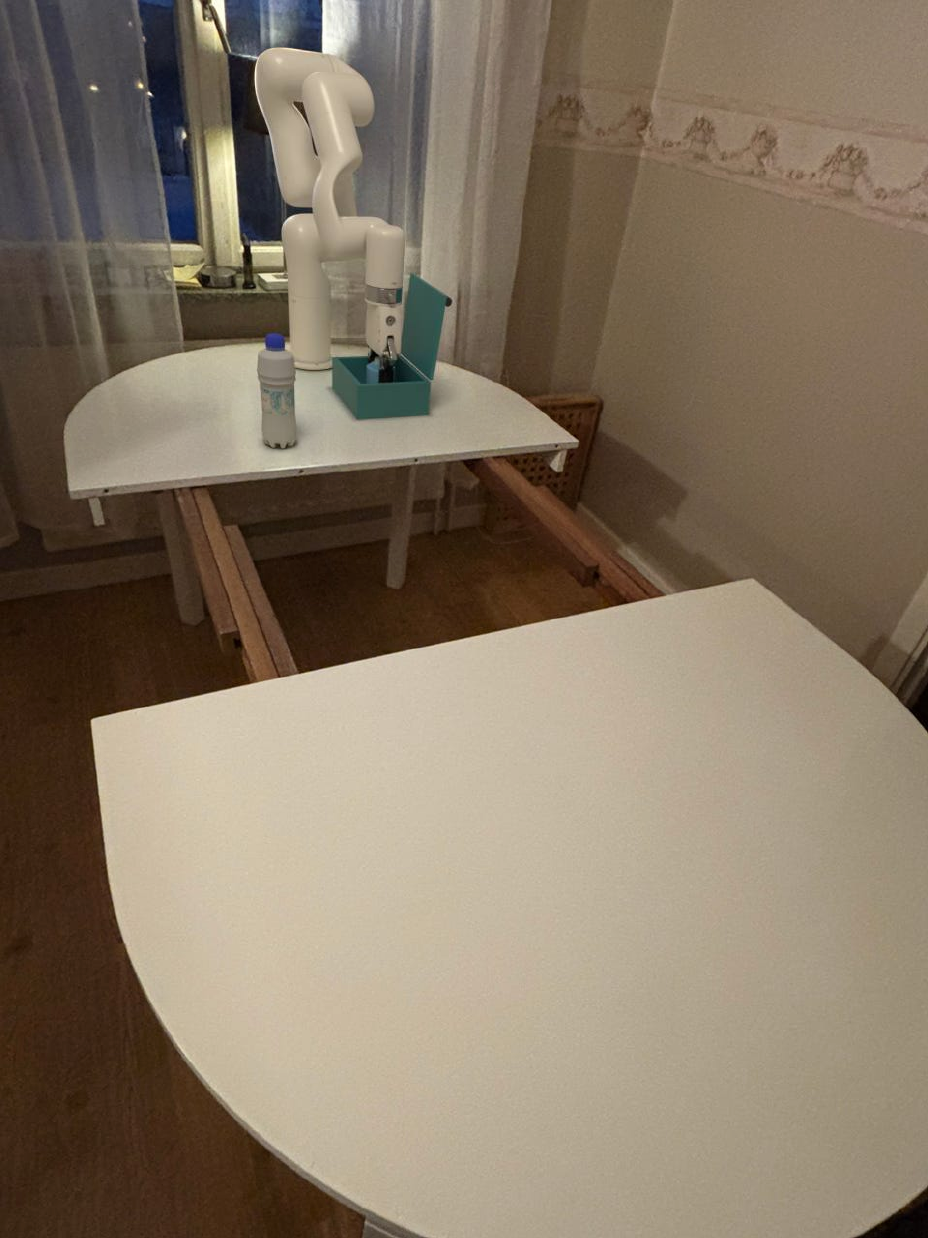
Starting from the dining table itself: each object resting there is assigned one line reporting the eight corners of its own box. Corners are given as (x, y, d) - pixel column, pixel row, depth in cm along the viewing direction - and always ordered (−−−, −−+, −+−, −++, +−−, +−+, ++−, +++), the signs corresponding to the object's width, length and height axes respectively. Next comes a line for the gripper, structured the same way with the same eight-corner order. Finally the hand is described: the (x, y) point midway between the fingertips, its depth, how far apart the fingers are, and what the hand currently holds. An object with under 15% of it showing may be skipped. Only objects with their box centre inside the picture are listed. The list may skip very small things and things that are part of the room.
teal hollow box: (357, 419, 152) (357, 385, 148) (332, 388, 165) (332, 356, 161) (428, 414, 158) (431, 382, 154) (399, 385, 171) (401, 354, 167)
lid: (443, 295, 144) (466, 297, 147) (410, 272, 157) (432, 275, 159) (429, 380, 154) (451, 381, 156) (399, 352, 166) (420, 353, 169)
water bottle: (362, 392, 162) (363, 354, 157) (388, 391, 164) (389, 353, 159) (370, 402, 158) (372, 363, 153) (397, 401, 160) (399, 362, 155)
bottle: (257, 437, 140) (250, 328, 128) (292, 435, 142) (289, 327, 130) (266, 452, 135) (259, 340, 123) (302, 449, 138) (299, 339, 126)
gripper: (416, 305, 144) (410, 396, 154) (386, 283, 156) (383, 368, 167) (380, 305, 141) (376, 398, 151) (352, 283, 153) (351, 369, 164)
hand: (380, 381), depth 159 cm, fingers closed on water bottle, 6 cm apart
